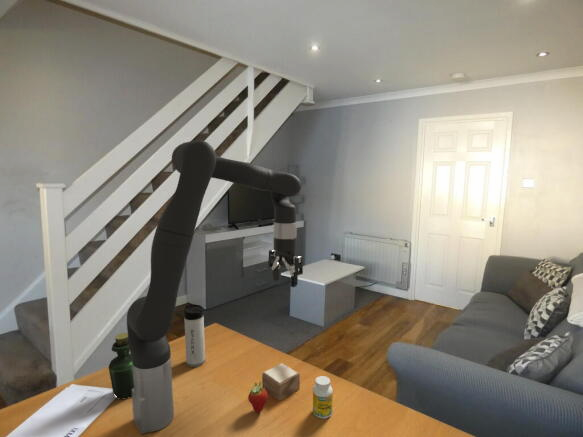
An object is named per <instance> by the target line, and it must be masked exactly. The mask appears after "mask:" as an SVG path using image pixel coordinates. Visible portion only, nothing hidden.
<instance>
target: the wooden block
mask: <svg viewBox="0 0 583 437" xmlns="http://www.w3.org/2000/svg"><path fill="white" fill-rule="evenodd" d="M261 373H262V375H261V380H262V381H261V388H264V387H265V388H264V389H265V390H266V391H267V394H270V395H271V396H272V397H273V398H274V399H276V400H278V402H281V401H283V400H284V399H285V398H288V397H289V396H291V395H292V394H294V393H296V392H297V391H298V390H300V387H301V385H300V384H301V383H300V380H301V379H300V378H301V377H300V374H301V373H299V372H297V371H295V370H294V369H293V368H291V367H289V366H288V365H286V364H284V363H283V362H281V363H279V364H277V365H274V367H273V366H272V368H269V369H267V370H265V371H263V372H261Z"/></svg>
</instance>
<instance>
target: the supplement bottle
mask: <svg viewBox="0 0 583 437" xmlns="http://www.w3.org/2000/svg"><path fill="white" fill-rule="evenodd" d="M314 381H315V383H314V384H315V385H314V386H313V388H312V413H313V415H314V416H315V417H316V418H318V419H328V418H330V417H331V416H332V414H333V399H334V398H333V396H334V394H333V393H334V392H333V391H334V390H333V388H332V385H331V379H330V378H329V377H328V376H325V375H321V376H317V377H316V378H315V380H314Z"/></svg>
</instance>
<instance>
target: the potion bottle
mask: <svg viewBox="0 0 583 437" xmlns="http://www.w3.org/2000/svg"><path fill="white" fill-rule="evenodd" d="M114 339H115V342H114V343H113V344H112V347H111V351H112V352H114V353H116V355H117V356H115V357H114V358H112V359H111V360H110V362H109V364H108V373H109V377H110V383H111V388H112V393H114V394H115V395H116V396H117V398H120V399H119V400H124V399H123V398H127V399H129V398H128V397H130V398H132V397H131V396H132V389H133V388H134V379H133V365H132V356H131V353H130V349H129V341H128V332H120V333H119V334H118V333H117V334H116V335H115V336H114ZM114 394H113V395H114ZM117 398H116V399H117Z"/></svg>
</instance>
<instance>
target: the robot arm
mask: <svg viewBox="0 0 583 437" xmlns="http://www.w3.org/2000/svg"><path fill="white" fill-rule="evenodd" d="M171 163H172V165H173V167H174V169H175V170H176V171H177V172H178V173H179V177H178V182H177V186H176V189H175V192H174V193H173V195H172V197H171V199H170V200H169V202H168V204H167V206H166V207H165V209H164V211H163V212H162V213H161V216H160V218H159V220H158V222H157V226H156V228H155V232H154V235H153V239H152V242H151V249H150V280H149V286H148V290H147V293H146V296H141V297H139V298H137V299H135V301H133V302H132V303H131V305H130V306H129V308H128V311H127V313H126V330H127V333H128V341H129V349H130V351H129V354H131V356H132V365H133V379H134V388H133V389H132V397H131V400H132V413H133V414H132V415H133V416H132V417H133V423H134V425H135V426H136V427H137V429H138V431H139V432H140V434H141V435H142V434H143V435H144V434H146V433H152V432H157V431H160V430H162V429H164V428H167V426H169V425H170V424H171V422H172V421H173V420H174V415H175V412H174V411H175V410H174V409H175V408H174V397H173V396H174V395H173V394H174V392H173V390H174V389H173V377H172V376H173V375H172V374H173V373H172V358H171V357H172V355H171V354H172V353H171V351H172V350H171V347H170V346H171V345H170V343H169V341H168V338H167V335H168V334H167V333H168V332H169V331H170V329H171V327H172V325H173V322H174V317H175V311H176V305H177V301H178V300H177V299H178V298H177V297H178V292H179V287H180V284H181V280H182V277H183V274H184V270H185V266H186V263H187V259H188V256H189V252H190V249H191V246H192V243H193V238H194V235H195V230H196V226H197V223H198V220H199V219H198V218H199V216H200V211H201V209H202V208H201V207H202V204H203V200H204V198H205V195H206V191H207V190H208V186H209V184H210V182H211V179H215V180H223V181H226V182H230V183H233V184H236V185H240V186H243V187H246V188H250V189H254V190H259V191H262V192H270V197H271V202H272V206H273V209H274V212H273V213H274V217H273V218H274V219H273V220H274V222H273V223H274V224H273V249H269V251H268V263H267V264H268V265H267V266H268V268H271V270H272V278H273V281H275V282H278V281H280V268H281V267H284V268H286V270H287V271H288V272H289V274H290V287H291V288H295V287H297V286H298V285H299V284H298V282H299V281H298V280H299V278H298V276H300V275H303V273H304V268H303V266H304V264H303V263H304V262H303V256H301V255H299V256H297V255H296V254H295V253H296V250H297V238H298V237H297V235H298V234H297V231H298V230H297V209H296V206H295V205H294V204H292V203H291V202H290V198H291V197H295V196H297V195H298V194H299V193H300V191H301V189H302V182H301V180H300V179H299V178H298V177H297V176H296V175H295V174H291V173H287V172H283V171H277V170H272V169H270V168H267V167H264V166H263V165H262V166H261V165H257V164H254V163H250V162H245V161H240V160H235V159H229V158H224V157H221V156H218V155H217V154H216V151H215V148H214V147H213V145H211V144H210V143H209V142H208V141H204V140H192V141H191V140H190V141H186V142H183V143H181V144H178V145H177V146H176V147H175V148H174V150H173V152H172V154H171Z"/></svg>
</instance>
